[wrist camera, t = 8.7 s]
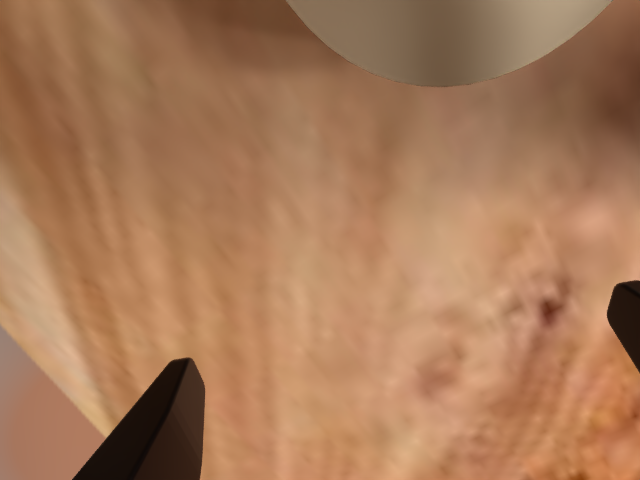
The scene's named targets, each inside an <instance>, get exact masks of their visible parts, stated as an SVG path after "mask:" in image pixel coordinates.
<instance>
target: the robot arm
mask: <svg viewBox="0 0 640 480" xmlns="http://www.w3.org/2000/svg"><path fill="white" fill-rule="evenodd" d="M607 318H608V322H609V324H610V326H611V327H612V329H613V331H614V332H615V334H616V335H617V337H618V339H619V340H620V342H621V343H622V345H623V347H624V348H625V350H626V352H627V353H628V355H629V356H630V358H631V360H632V361H633V363H634V365H635V366H636V368H637V369H638V371H639V373H640V281H638V280H634V281H628V282H623V283H619V284H617V285H616V286H615V287H614V289H613V292H612V296H611V299H610V303H609V306H608V310H607ZM204 407H205V386H204V382H203V380H202V378H201V375H200V373H199V371H198V369H197V367H196V365H195V363H194V361H193V359H192V358H188V357H187V358H181V359H176V360H172V361H171V362H170V363H169V364H168V365H167V366H166V367H165V368H164V370H163V371H162V372H161V373H160V374H159V376H158V377H157V378H156V379H155V380H154V382H153V383H152V384H151V385H150V386H149V388H148V389H147V390H146V391H145V392H144V394H143V395H142V396H141V397H140V399H139V400H138V401H137V402H136V403H135V405H134V406H133V407H132V408H131V409H130V411H129V412H128V413H127V414H126V415H125V417H124V418H123V419H122V420H121V421H120V423H119V424H118V425H117V426H116V427H115V429H114V430H113V431H112V432H111V433H110V435H109V436H108V437H107V438H106V439H105V441H104V442H103V443H102V444H101V446H100V447H99V448H98V449H97V450H96V451H95V453H94V454H93V455H92V456H91V458H90V459H89V460H88V461H87V462H86V464H85V465H84V466H83V467H82V468H81V470H80V471H79V472H78V473H77V474H76V476H75V477H74V478H73V479H72V480H200V474H201V466H202V453H203V430H204Z"/></svg>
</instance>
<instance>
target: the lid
mask: <svg viewBox="0 0 640 480" xmlns="http://www.w3.org/2000/svg"><path fill="white" fill-rule="evenodd" d="M286 1H287V3H288V4H289V6H290V7H291V8H292V9H293V10H294V12H295V13H296V14H297V15H298V16H299V18H300V19H301V20H302V21H303V23H304V24H305V25H306V26H307V27H308V28H309V29H310V30H311V31H312V32H313V33H314V34H315V35H316V36H317V37H318V38H319V39H320V40H321V41H323V42H324V43H325V44H326V45H327V46H328V47H329V48H331V49H332V50H333V51H335V52H336V53H338V54H339V55H341V56H342V57H343V58H345V59H346V60H348V61H349V62H351V63H352V64H354V65H356V66H358V67H360V68H362V69H364V70H366V71H368V72H370V73H372V74H375V75H378V76H381V77H384V78H387V79H390V80H392V81H395V82H400V83H406V84H411V85H417V86H431V87H449V86H459V85H469V84H473V83H477V82H481V81H486V80H490V79H494V78H497V77H499V76H502V75H505V74H507V73H510V72H513V71H515V70H518V69H520V68H522V67H524V66H526V65H528V64H530V63H532V62H534V61H536V60H538V59H540V58H542V57H543V56H545V55H547V54H548V53H550V52H551V51H553V50H554V49H556V48H557V47H559V46H560V45H562V44H563V43H565V42H566V41H568V40H569V39H570V38H572V37H573V36H574V35H575V34H576V33H578V32H579V31H580V30H581V29H583V28H584V27H585V26H586V25H588V24H589V23H590V22H591V21H592V20H593V19H595V18H596V17H597V16H598V15H599V14H600V13H601V12H602V11H603V10H604V9H605V8H606V7H607V6H608V5H609V4H610V3H611V2H612V1H613V0H286Z"/></svg>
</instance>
